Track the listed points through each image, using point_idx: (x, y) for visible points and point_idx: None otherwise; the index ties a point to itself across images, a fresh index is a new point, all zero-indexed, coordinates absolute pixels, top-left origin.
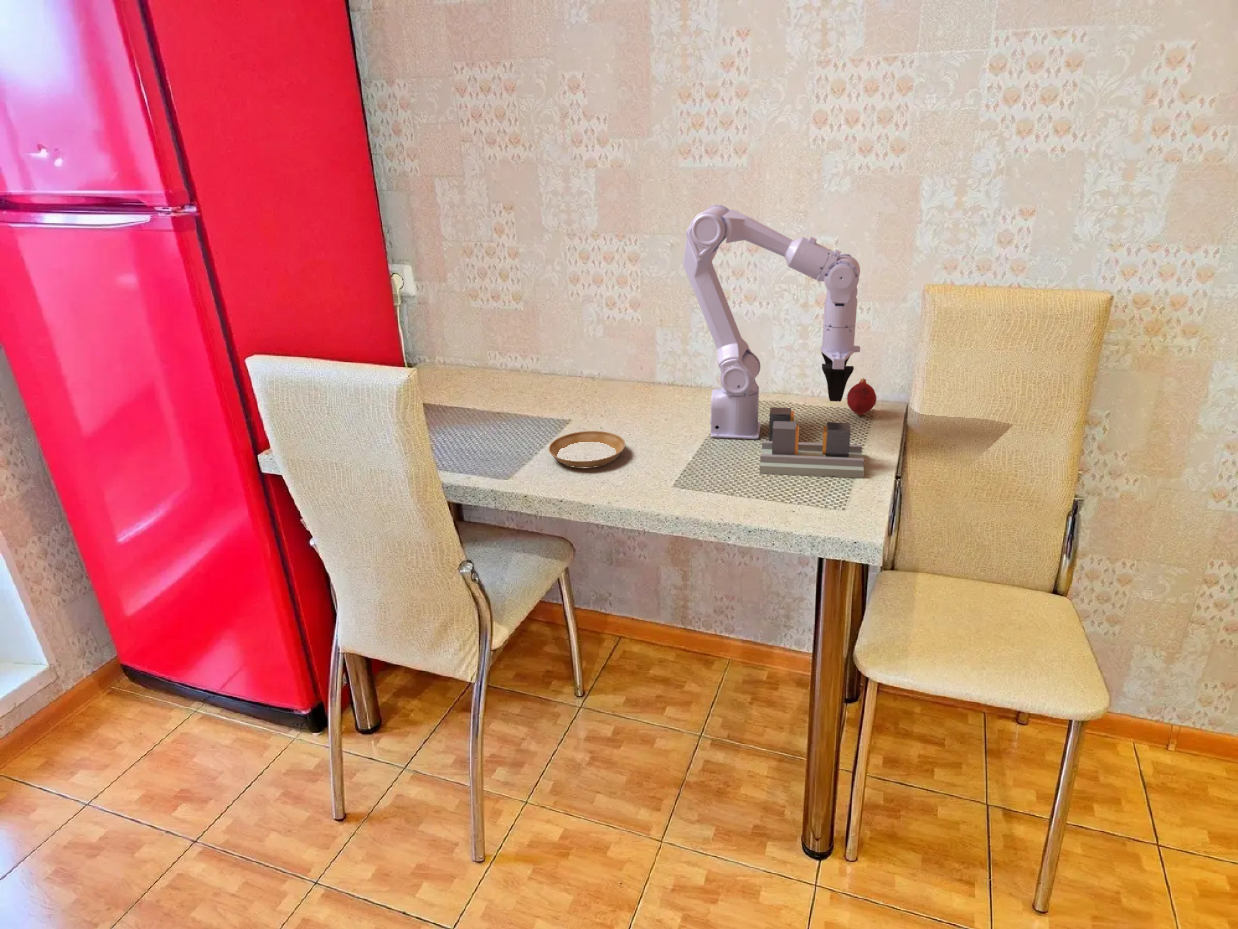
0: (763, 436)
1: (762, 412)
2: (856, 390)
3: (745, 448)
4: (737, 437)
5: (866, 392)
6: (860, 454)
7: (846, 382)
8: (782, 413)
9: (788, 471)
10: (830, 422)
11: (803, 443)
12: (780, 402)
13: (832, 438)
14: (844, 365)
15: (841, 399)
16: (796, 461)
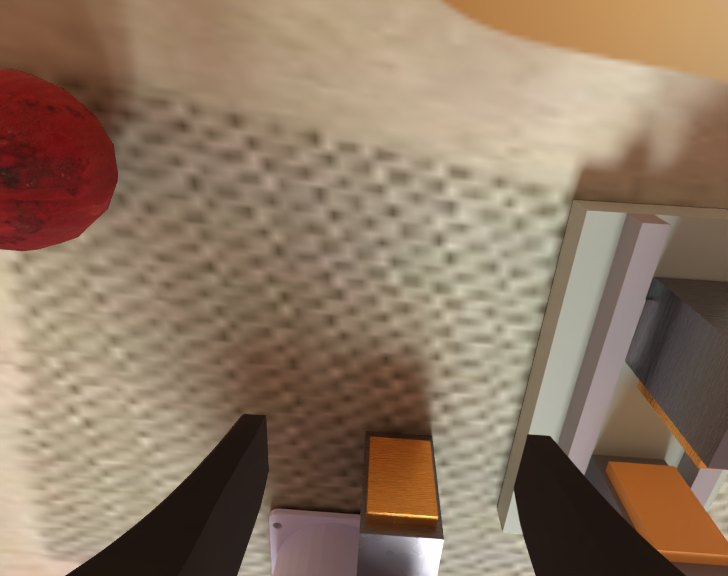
0: None
1: (151, 495)
2: (25, 223)
3: (473, 545)
4: None
5: (28, 157)
6: (671, 221)
7: (674, 566)
8: (431, 563)
9: None
10: (714, 453)
11: (582, 446)
12: (31, 441)
13: None
14: (198, 553)
15: (557, 444)
16: None
